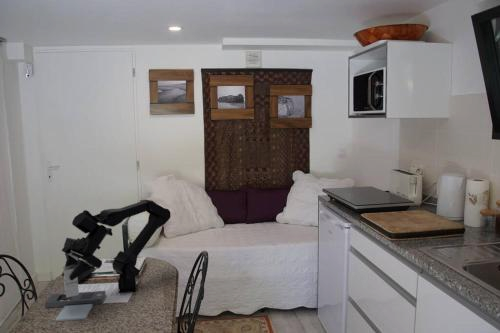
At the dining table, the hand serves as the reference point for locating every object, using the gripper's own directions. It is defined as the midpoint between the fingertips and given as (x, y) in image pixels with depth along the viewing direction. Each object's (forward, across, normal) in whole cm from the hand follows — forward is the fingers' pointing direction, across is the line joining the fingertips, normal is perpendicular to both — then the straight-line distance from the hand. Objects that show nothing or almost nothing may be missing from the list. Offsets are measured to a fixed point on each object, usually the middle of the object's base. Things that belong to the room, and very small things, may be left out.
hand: (66, 277), depth 137 cm
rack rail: (+5, -7, +14) cm, 16 cm away
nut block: (+4, 0, +6) cm, 7 cm away
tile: (+9, +1, +10) cm, 14 cm away
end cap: (-3, -25, +23) cm, 34 cm away
